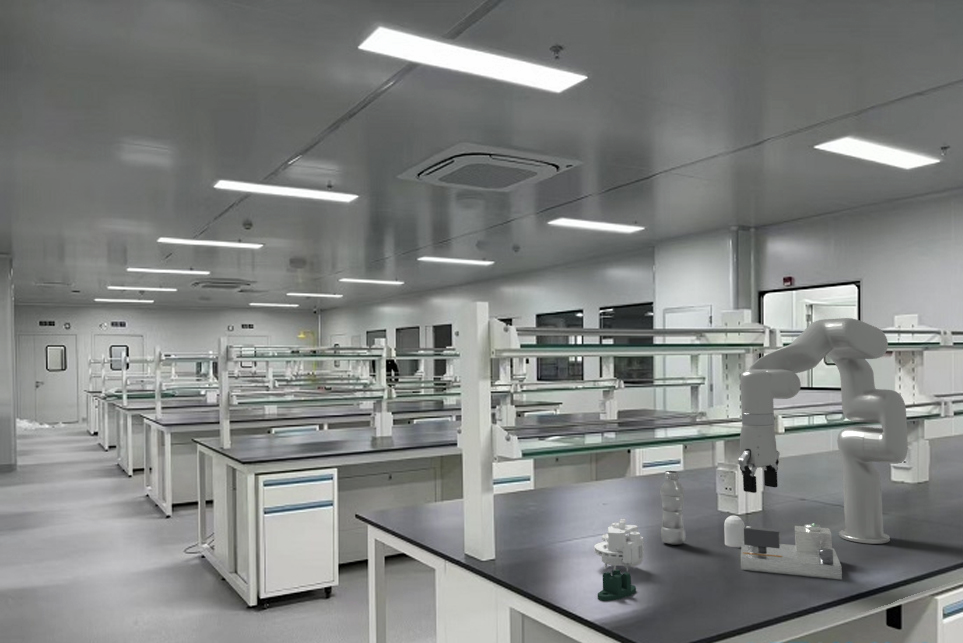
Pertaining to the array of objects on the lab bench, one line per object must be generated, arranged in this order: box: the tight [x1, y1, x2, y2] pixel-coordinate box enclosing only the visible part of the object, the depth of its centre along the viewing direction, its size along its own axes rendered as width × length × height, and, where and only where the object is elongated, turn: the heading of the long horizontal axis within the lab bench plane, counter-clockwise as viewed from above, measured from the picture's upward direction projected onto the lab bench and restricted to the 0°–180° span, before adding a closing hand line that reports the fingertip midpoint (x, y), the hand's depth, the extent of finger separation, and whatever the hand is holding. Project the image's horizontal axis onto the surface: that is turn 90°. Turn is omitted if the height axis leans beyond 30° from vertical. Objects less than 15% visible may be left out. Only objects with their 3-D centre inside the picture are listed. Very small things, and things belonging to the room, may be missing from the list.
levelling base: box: [740, 522, 843, 580], centre depth 169 cm, size 16×22×10 cm
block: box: [744, 525, 781, 554], centre depth 168 cm, size 8×3×6 cm, turn 62°
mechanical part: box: [593, 518, 645, 572], centre depth 167 cm, size 11×12×12 cm
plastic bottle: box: [659, 470, 687, 546], centre depth 190 cm, size 6×7×20 cm
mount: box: [597, 568, 637, 602], centre depth 149 cm, size 11×4×5 cm, turn 126°
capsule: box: [723, 515, 746, 548], centre depth 188 cm, size 5×5×8 cm
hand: (760, 489), depth 169 cm, fingers open, 9 cm apart
